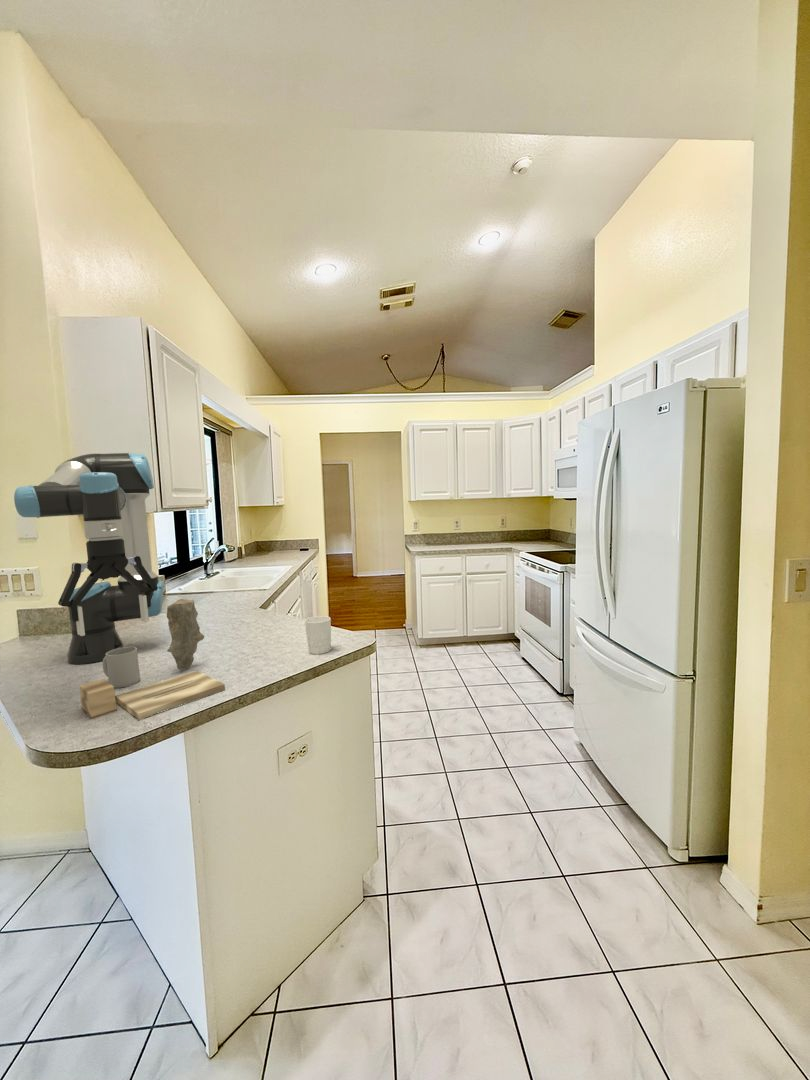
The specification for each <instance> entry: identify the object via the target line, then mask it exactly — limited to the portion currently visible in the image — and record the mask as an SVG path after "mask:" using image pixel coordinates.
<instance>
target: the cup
mask: <svg viewBox="0 0 810 1080" xmlns="http://www.w3.org/2000/svg"><path fill="white" fill-rule="evenodd" d="M139 664H140V663H139V656H138V648H137V647H136V646H124V647H123V648H117V649H114V650H111V651H109V652H107V653H106V656H105V657H104V659H103V661H102V664H101V665H102V671H103V673H104V675H105V676H106V677H107V679H108V682H109V683H110V684H111V685H112V686H114V689H122V688H126V687H130V686H133V685H136V684H137V683H138V682H139V681H140V679H141V675H140V666H139Z"/></svg>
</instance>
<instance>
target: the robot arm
mask: <svg viewBox="0 0 810 1080" xmlns="http://www.w3.org/2000/svg"><path fill="white" fill-rule="evenodd" d="M153 489H155V484H154V478H153V474H152V470H151V467H150V463H149V460H148V458H147V456H146V455H144V454H143V453H136V452H135V453H133V452H125V453H123V452H120V453H119V452H118V453H114V452H113V453H88V454H87V453H86V454H83V455H79V456H75V457H73V458H69V459H67V460H65V461H63V462H61V463H60V464H59V465H58V466H57V467H56V468H55V470H54V473H53V474H52V475H51V476H49V477H48V478H46V479H45V480H44V481H43V482H41V483H40V484H38V485H23V486H18V487H16V488H15V491H14V494H13V499H14V501H13V502H14V507H15V509H16V511H17V514H18V515H19V516H21V517H22V518H36V519H40V518H50V517H66V516H83V525H84V526H83V527H84V537H85V539H86V540H88V541H86V543H85V545H86V547H85V548H86V554H87V555H86V556H87V560H86V561H87V562H86V563H85V562H79V563H78V562H73V563H72V564H71V573H70V575H69V578H68V579H67V582H66V584H65V586H64V588H63V591H62V593H61V595H60V597H59V600H58V605H59V606H60V607H65V608H68V615H69V620H70V621H69V622H70V628H71V640H70V643H69V648H68V652H67V662H68V663H69V664H71V665H83V664H94V663H97V662H101V661H102V662H103V659H104V657H105V656H106V653H107V652H109V651H111V650H114V649H117V648H123V647H125V646H124V643H123V642H122V639H121V637H120V635H119V633H118V631H117V629H116V625H115V624H116V623H115V622H121V621H129V620H136V619H137V620H138V619H140V620H141V622H145V623H147V622H150V621H149V620H150V619H149V618H151V617H156V616H159V615H160V614H161V613H162V611H163V604H164V581H163V580H160V579H159V575H157V574H156V573H155V572H154V571H153V566H152V557H151V556H152V555H151V546H150V537H149V527H148V518H147V517H148V516H147V505H146V499H147V498H148V497H149V496H150V490H153ZM86 569H88V571H90V574H88V576H87V578H86V580H85V581H84V582H83V583H82V585H81V586H80V587H77V584H78V582H79V580H80V577H81V575H82V573H84V572H85V570H86ZM111 578H113V579H115V578H118V579H117V585H112V584H111V582H110V581H101V582H98V581H99V580H108V579H111Z"/></svg>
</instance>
